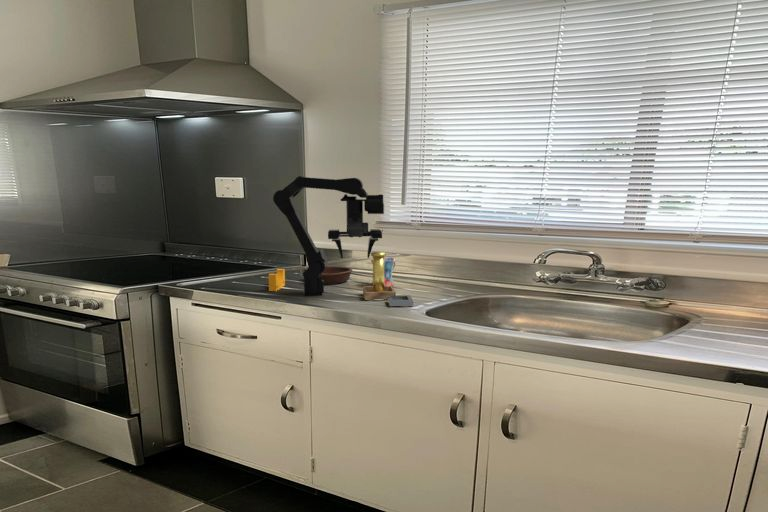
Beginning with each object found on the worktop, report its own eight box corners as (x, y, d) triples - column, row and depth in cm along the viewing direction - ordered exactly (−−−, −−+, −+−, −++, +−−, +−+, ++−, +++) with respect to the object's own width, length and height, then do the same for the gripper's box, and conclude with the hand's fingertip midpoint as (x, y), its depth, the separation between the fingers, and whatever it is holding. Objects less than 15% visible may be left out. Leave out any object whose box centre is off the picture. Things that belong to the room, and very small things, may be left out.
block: (389, 307, 165) (389, 301, 165) (387, 301, 173) (387, 295, 173) (413, 306, 166) (413, 300, 166) (409, 301, 174) (409, 295, 173)
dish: (364, 279, 211) (364, 267, 211) (328, 289, 194) (327, 276, 193) (333, 275, 222) (332, 263, 221) (295, 283, 204) (295, 271, 203)
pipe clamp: (274, 285, 201) (273, 268, 200) (285, 285, 200) (284, 269, 200) (264, 291, 189) (263, 274, 188) (275, 292, 189) (275, 274, 188)
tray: (364, 300, 174) (364, 292, 174) (363, 293, 184) (363, 286, 184) (395, 300, 175) (395, 291, 175) (392, 293, 185) (392, 285, 185)
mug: (384, 289, 191) (384, 261, 190) (365, 286, 197) (365, 259, 196) (404, 284, 201) (404, 257, 199) (385, 281, 206) (385, 255, 205)
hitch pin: (371, 297, 177) (371, 253, 175) (370, 293, 182) (370, 251, 180) (386, 296, 177) (386, 253, 175) (385, 293, 182) (385, 251, 180)
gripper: (327, 215, 171) (328, 262, 173) (383, 215, 173) (383, 261, 175) (327, 213, 182) (328, 257, 184) (380, 213, 184) (380, 256, 186)
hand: (355, 258), depth 182 cm, fingers open, 9 cm apart
